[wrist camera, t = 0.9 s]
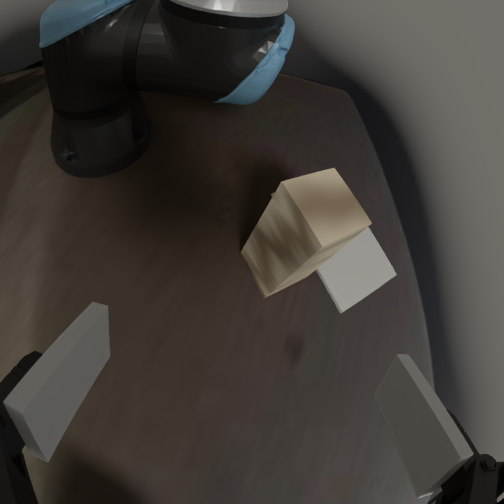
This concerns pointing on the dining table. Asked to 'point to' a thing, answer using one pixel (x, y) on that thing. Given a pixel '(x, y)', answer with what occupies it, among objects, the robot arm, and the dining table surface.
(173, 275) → the dining table surface
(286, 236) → the beech block
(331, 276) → the mat
